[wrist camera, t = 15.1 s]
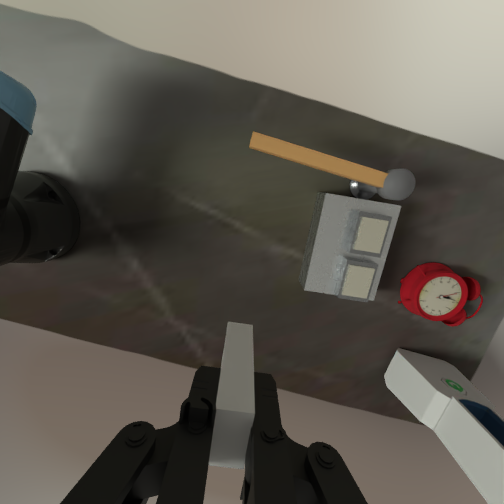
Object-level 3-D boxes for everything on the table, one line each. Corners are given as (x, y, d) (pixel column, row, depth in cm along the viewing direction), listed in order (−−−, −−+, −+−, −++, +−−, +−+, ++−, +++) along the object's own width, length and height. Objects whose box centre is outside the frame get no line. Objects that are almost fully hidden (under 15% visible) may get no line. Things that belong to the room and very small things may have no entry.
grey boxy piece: (298, 279, 50) (306, 295, 43) (324, 161, 45) (338, 157, 38) (361, 289, 51) (380, 306, 44) (394, 173, 46) (420, 171, 39)
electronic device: (450, 361, 55) (678, 562, 26) (433, 391, 56) (630, 612, 27) (393, 345, 54) (565, 536, 25) (378, 376, 55) (521, 589, 26)
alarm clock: (421, 257, 46) (515, 291, 44) (408, 251, 52) (490, 281, 50) (394, 311, 48) (481, 345, 46) (384, 299, 54) (461, 329, 52)
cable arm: (381, 175, 45) (420, 173, 35) (372, 199, 46) (407, 204, 36) (254, 136, 44) (255, 121, 33) (247, 161, 44) (246, 154, 34)
